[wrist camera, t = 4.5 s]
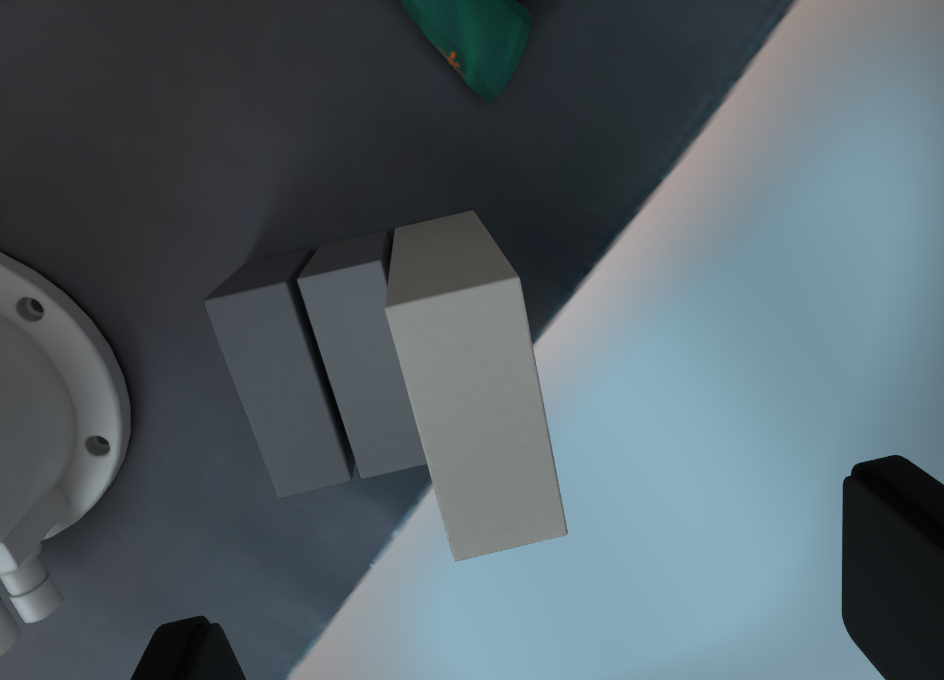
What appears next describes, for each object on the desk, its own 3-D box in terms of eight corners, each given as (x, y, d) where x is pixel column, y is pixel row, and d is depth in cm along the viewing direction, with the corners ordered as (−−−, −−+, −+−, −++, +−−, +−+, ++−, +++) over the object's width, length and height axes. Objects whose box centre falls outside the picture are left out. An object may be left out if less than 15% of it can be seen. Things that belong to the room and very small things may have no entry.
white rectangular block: (473, 209, 23) (519, 276, 13) (509, 379, 25) (568, 535, 16) (394, 227, 23) (384, 307, 13) (437, 395, 25) (454, 563, 16)
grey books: (430, 397, 25) (435, 462, 20) (302, 427, 25) (278, 499, 20) (386, 229, 23) (380, 259, 18) (244, 262, 22) (201, 300, 18)
